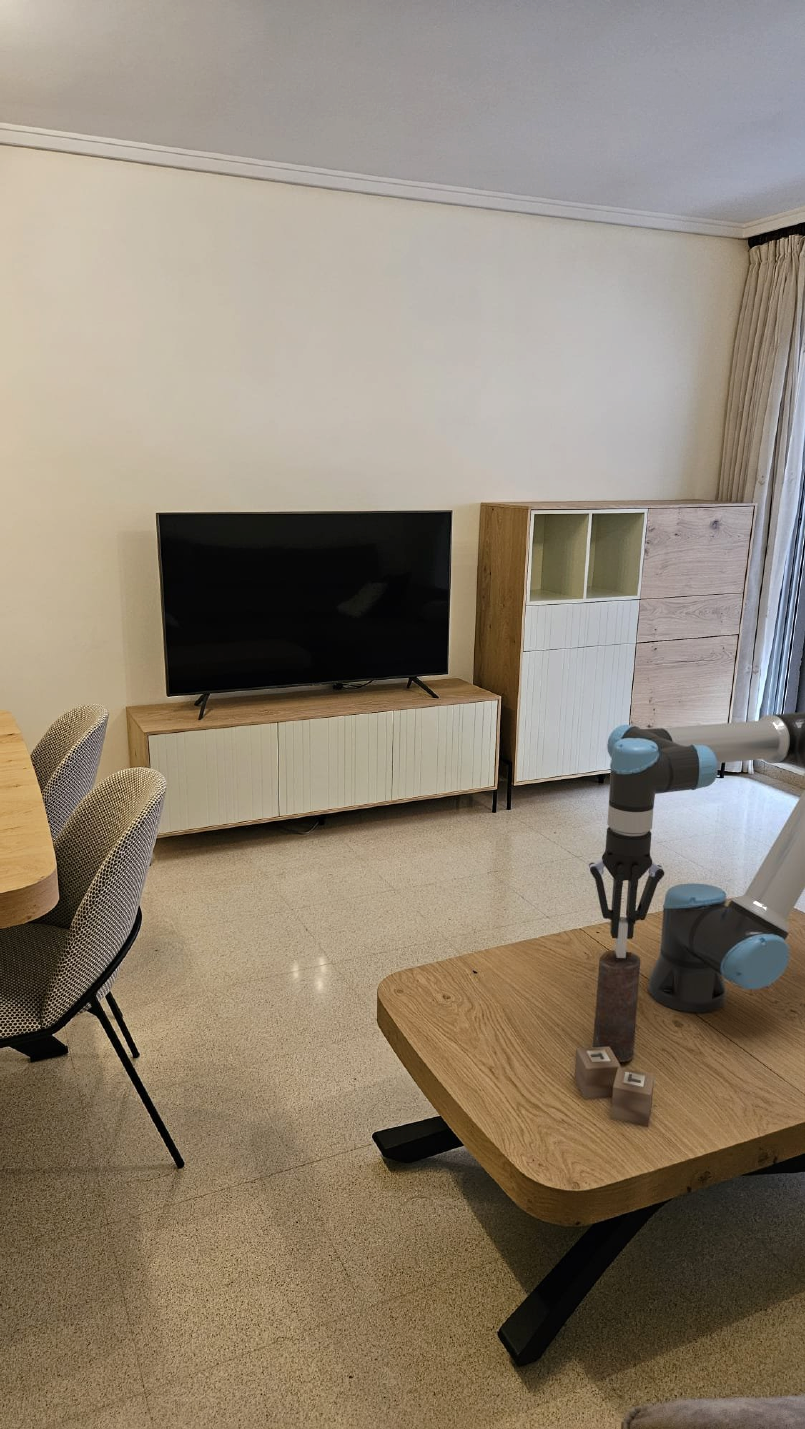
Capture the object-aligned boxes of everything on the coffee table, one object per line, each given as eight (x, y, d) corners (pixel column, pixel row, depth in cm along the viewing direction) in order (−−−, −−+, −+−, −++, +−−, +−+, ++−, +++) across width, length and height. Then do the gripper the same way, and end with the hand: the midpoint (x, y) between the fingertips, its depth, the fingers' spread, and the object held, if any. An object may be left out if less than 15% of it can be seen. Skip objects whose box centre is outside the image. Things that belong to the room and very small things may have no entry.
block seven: (651, 1105, 165) (654, 1071, 164) (648, 1127, 160) (651, 1092, 158) (615, 1098, 167) (618, 1064, 166) (610, 1119, 162) (613, 1084, 160)
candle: (624, 1072, 174) (632, 970, 169) (585, 1059, 178) (592, 959, 173) (638, 1052, 181) (647, 952, 176) (600, 1040, 184) (607, 942, 180)
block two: (607, 1076, 173) (609, 1043, 172) (618, 1097, 167) (621, 1063, 166) (574, 1078, 172) (576, 1045, 171) (584, 1099, 167) (586, 1065, 165)
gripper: (663, 822, 172) (653, 946, 178) (588, 819, 173) (580, 942, 179) (672, 837, 165) (661, 966, 170) (593, 834, 166) (585, 962, 171)
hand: (620, 953), depth 174 cm, fingers closed
